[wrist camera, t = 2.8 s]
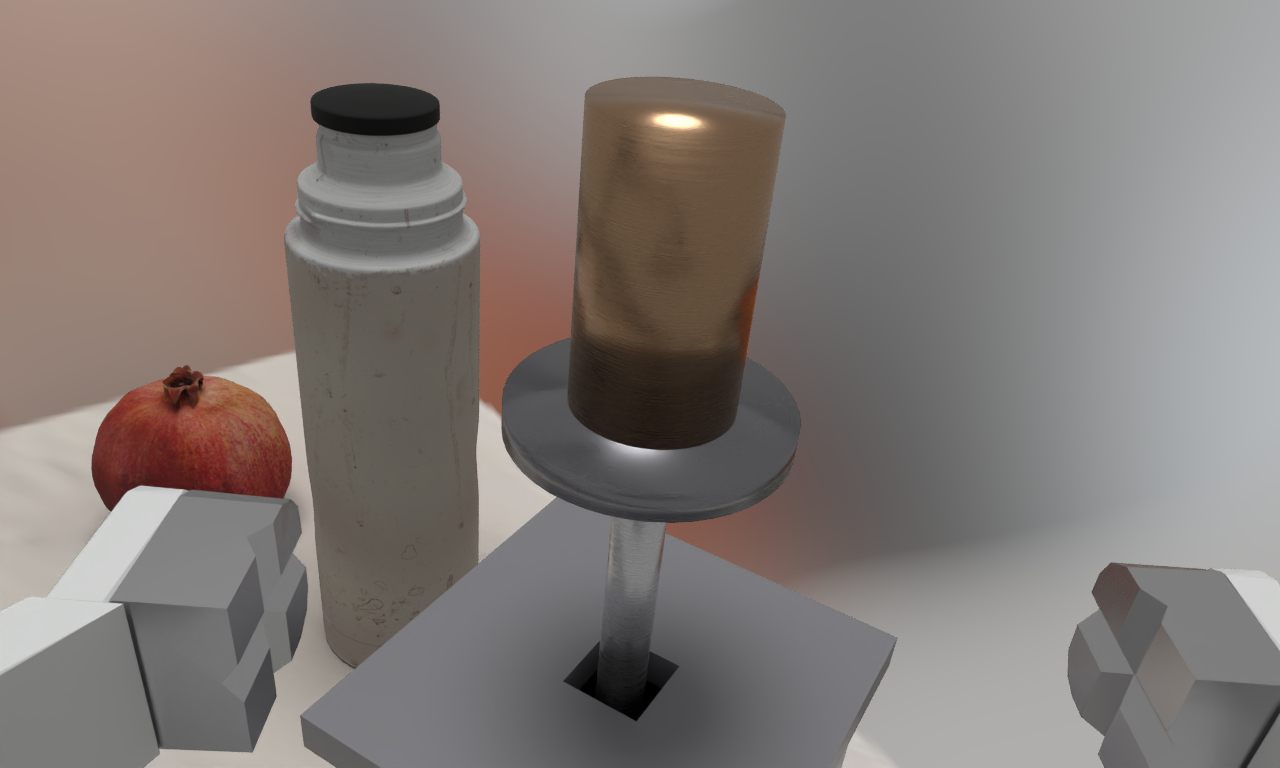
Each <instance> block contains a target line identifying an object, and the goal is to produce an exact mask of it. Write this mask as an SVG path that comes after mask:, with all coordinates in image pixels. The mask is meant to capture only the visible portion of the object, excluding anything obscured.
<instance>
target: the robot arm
mask: <svg viewBox="0 0 1280 768" xmlns="http://www.w3.org/2000/svg"><path fill="white" fill-rule="evenodd" d="M301 533H302V531H301V524H300V518H299V512H298V506H297V505H296V504H295V503H294V502H293V501H292V500H291V499H281V498H271V497H261V496H250V495H240V494H230V493H220V492H210V491H200V490H190V491H188V490H183V489H172V488H161V487H150V486H138V487H136V488H134V489H132V490H129V491H128V492H127V493H125V494H124V496H123V497H122V498H121V500H120V501H119V502H118V504H117V505H116V506H115V507H114V509H113V510H112V511H111V513H110V514H109V515H108V517H107V518H106V519H105V521H104V522H103V523H102V524H101V526H100V527H99V528H98V530H97V531H96V532H95V534H94V535H93V536H92V537H91V539H90V540H89V541H88V543H87V544H86V545H85V547H84V548H83V549H82V550H81V552H80V553H79V554H78V556H77V557H76V558H75V560H74V561H73V562H72V564H71V565H70V566H69V567H68V569H67V570H66V571H65V573H64V574H63V575H62V577H61V578H60V579H59V580H58V582H57V583H56V584H55V586H54V587H53V588H52V590H51V591H50V592H49V593H48V595H47V596H46V597H45V598H40V597H27V598H25V599H23V600H22V601H20V602H18V603H16V604H14V605H12V606H10V607H8V608H6V609H4V610H2V611H0V768H144V767H145V766H146V765H147V764H148V763H150V762H151V761H152V760H153V759H154V758H156V757H157V756H158V755H159V754H160V751H159V749H180V750H204V751H229V752H253V750H254V748H255V745H256V743H257V741H258V738H259V736H260V734H261V731H262V729H263V727H264V724H265V722H266V720H267V717H268V715H269V713H270V710H271V708H272V706H273V703H274V701H275V699H276V688H275V681H274V674H273V673H274V672H276V671H277V670H279V669H280V668H282V667H283V666H284V665H286V664H287V663H289V662H290V661H292V658H293V656H294V653H295V651H296V648H297V646H298V643H299V641H300V638H301V634H302V629H303V625H304V620H305V615H306V611H307V593H308V584H307V574H306V567H305V566H304V565H303V564H302V563H301V562H300V561H299V559H298V558H297V557H296V556H295V555H294V554H293V553H292V552H293V550H294V548H295V546H296V544H297V542H298V539H299V537H300V535H301ZM1092 594H1093V596H1094V598H1095V600H1096V603H1097V605H1098V607H1099V610H1098V611H1096V612H1095V613H1093V614H1092V615H1091V616H1089V617H1088V618H1086V619H1085V620H1083V621H1082V622H1081V623H1079V624H1078V625H1077V628H1076V630H1075V633H1074V636H1073V639H1072V641H1071V644H1070V647H1069V651H1068V679H1069V684H1070V689H1071V694H1072V697H1073V699H1074V701H1075V704H1076V706H1077V709H1078V711H1079V713H1080V715H1081V717H1082V718H1083V719H1085V720H1086V721H1087V722H1088V723H1089V724H1090V725H1092V726H1093V727H1094V728H1095V729H1097V730H1098V731H1099V732H1100V733H1101V734H1103V735H1104V736H1105V737H1104V740H1103V742H1102V745H1101V748H1100V750H1099V753H1098V755H1099V757H1100V759H1101V761H1102V764H1103V766H1104V768H1280V585H1279V583H1278V582H1277V581H1276V580H1275V579H1273V578H1272V577H1270V576H1269V575H1267V574H1265V573H1263V572H1262V571H1253V570H1235V569H1217V568H1210V569H1208V570H1206V569H1196V568H1181V567H1168V566H1153V565H1140V564H1126V563H1125V564H1124V563H1110V564H1109V565H1108V566H1107V567H1106V568H1105V569H1104V570H1103V571H1102V572H1101V573H1100V574H1099V576H1098V579H1097V581H1096V583H1095V585H1094V588H1093V590H1092Z"/></svg>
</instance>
